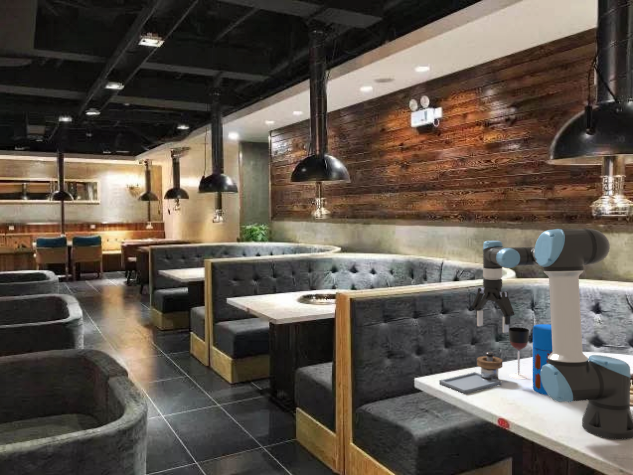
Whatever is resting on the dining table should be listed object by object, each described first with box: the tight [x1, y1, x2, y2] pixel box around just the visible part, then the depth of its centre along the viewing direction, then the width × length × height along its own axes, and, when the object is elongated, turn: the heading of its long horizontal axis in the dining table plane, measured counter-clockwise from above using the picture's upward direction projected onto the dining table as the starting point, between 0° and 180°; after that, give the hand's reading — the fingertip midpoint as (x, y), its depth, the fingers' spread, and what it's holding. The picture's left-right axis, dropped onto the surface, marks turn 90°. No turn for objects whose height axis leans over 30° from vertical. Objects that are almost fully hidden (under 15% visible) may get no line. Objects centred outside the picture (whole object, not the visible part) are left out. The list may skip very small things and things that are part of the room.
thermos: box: [532, 323, 553, 396], centre depth 203 cm, size 11×11×25 cm
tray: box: [438, 371, 502, 395], centre depth 213 cm, size 14×20×2 cm
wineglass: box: [508, 326, 530, 380], centre depth 221 cm, size 8×9×20 cm
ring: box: [476, 355, 503, 370], centre depth 218 cm, size 10×10×2 cm
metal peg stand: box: [480, 351, 500, 381], centre depth 218 cm, size 7×7×11 cm
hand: (492, 329), depth 217 cm, fingers open, 13 cm apart
